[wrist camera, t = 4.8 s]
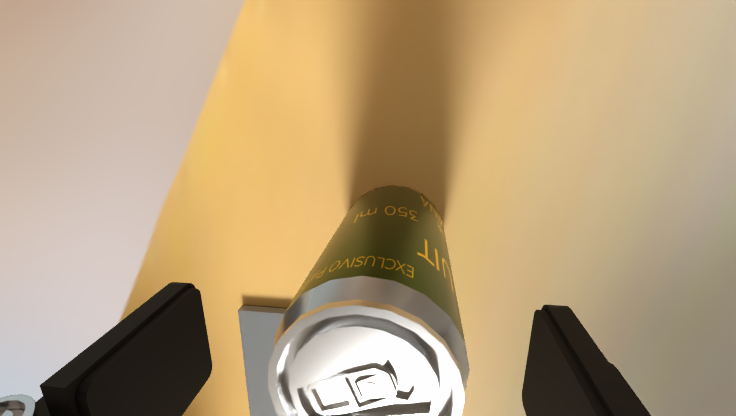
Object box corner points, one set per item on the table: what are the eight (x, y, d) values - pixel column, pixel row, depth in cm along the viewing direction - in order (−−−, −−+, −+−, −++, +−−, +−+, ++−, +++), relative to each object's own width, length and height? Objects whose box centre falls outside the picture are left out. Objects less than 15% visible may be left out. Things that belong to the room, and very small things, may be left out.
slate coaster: (384, 315, 22) (383, 321, 22) (383, 433, 25) (382, 441, 24) (242, 305, 23) (238, 310, 23) (255, 418, 26) (251, 425, 25)
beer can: (367, 284, 22) (308, 489, 10) (332, 201, 20) (222, 328, 9) (456, 258, 20) (502, 458, 9) (424, 168, 19) (432, 268, 8)
